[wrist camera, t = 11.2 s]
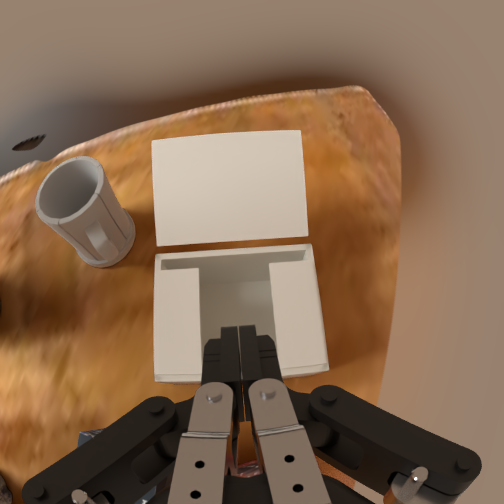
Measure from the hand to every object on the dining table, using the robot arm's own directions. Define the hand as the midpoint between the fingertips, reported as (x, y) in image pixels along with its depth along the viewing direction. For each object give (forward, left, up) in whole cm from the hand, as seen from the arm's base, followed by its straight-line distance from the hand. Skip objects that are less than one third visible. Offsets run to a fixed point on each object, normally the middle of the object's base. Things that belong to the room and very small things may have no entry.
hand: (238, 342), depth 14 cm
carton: (-4, +2, -22) cm, 23 cm away
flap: (-10, +5, -13) cm, 17 cm away
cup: (-23, -6, -22) cm, 33 cm away
